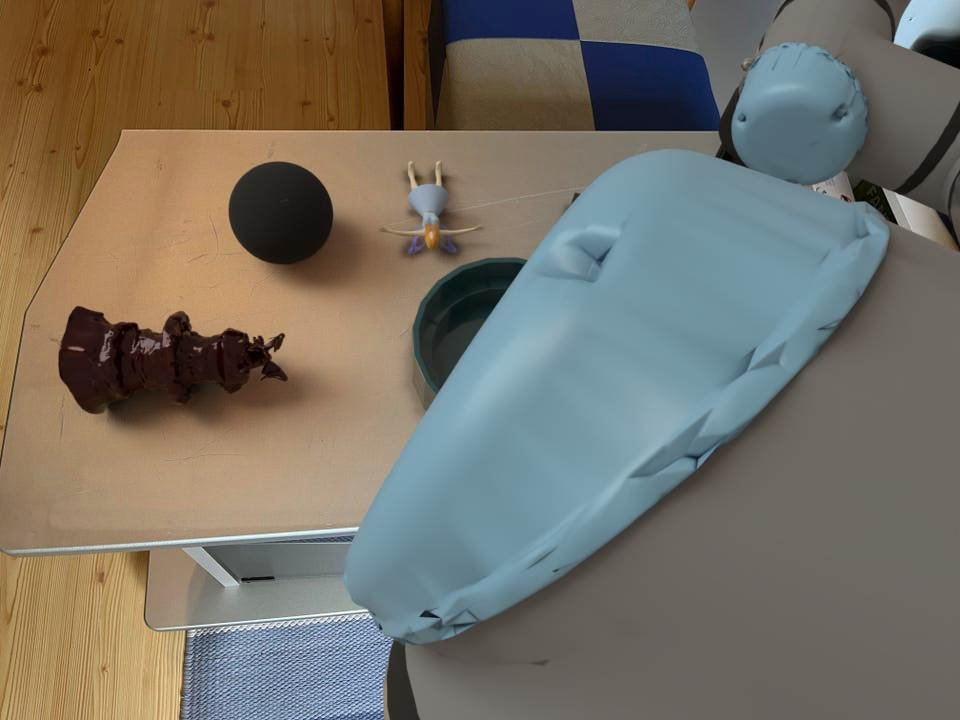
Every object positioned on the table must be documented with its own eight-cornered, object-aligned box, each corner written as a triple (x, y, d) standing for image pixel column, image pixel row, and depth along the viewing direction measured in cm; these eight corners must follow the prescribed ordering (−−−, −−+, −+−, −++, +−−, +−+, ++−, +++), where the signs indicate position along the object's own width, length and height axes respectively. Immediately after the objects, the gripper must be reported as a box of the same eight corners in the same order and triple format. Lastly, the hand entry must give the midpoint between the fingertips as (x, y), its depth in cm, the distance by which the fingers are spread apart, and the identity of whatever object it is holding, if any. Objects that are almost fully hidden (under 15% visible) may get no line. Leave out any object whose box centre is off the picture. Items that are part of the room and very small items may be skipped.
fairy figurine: (477, 150, 82) (490, 229, 75) (473, 182, 86) (486, 261, 79) (372, 150, 80) (375, 231, 74) (373, 184, 84) (377, 264, 78)
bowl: (578, 476, 69) (593, 453, 64) (389, 427, 69) (388, 401, 64) (606, 315, 78) (621, 283, 72) (438, 272, 78) (441, 238, 73)
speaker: (354, 258, 78) (349, 195, 69) (267, 299, 74) (249, 239, 66) (307, 193, 81) (297, 125, 72) (222, 230, 78) (200, 163, 69)
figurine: (104, 391, 72) (295, 384, 75) (65, 433, 62) (286, 424, 65) (89, 291, 69) (289, 289, 71) (46, 320, 59) (279, 316, 62)
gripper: (740, 32, 63) (654, 210, 84) (728, 164, 56) (637, 322, 76) (827, 53, 63) (719, 226, 83) (826, 188, 55) (709, 340, 76)
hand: (680, 272), depth 80 cm, fingers closed on chopsticks, 2 cm apart
